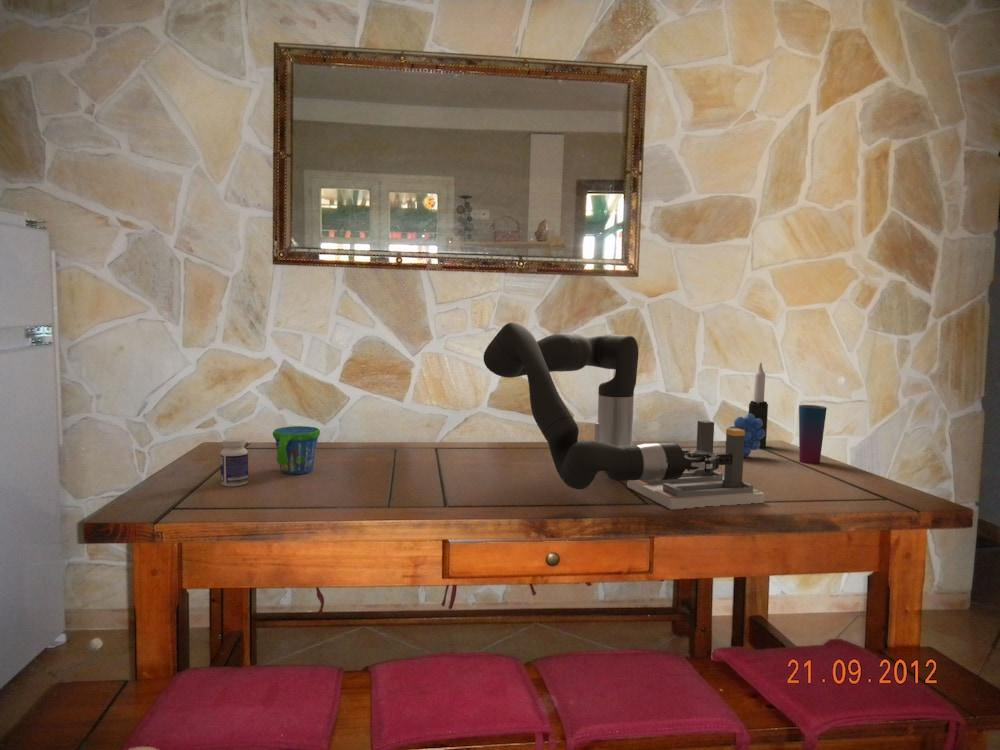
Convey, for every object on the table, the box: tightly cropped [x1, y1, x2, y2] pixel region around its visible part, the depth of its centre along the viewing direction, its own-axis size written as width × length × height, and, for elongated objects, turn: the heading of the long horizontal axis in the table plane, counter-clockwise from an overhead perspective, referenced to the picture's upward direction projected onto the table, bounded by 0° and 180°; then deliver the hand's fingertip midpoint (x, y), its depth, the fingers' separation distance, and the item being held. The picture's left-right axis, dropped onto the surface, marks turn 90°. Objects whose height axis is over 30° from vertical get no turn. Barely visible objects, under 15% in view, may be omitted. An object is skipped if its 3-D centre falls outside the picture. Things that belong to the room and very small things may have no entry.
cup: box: [798, 404, 828, 464], centre depth 194 cm, size 7×7×15 cm
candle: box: [748, 362, 769, 449], centre depth 215 cm, size 5×5×25 cm
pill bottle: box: [219, 437, 249, 487], centre depth 159 cm, size 6×6×10 cm
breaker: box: [723, 428, 745, 488], centre depth 153 cm, size 3×3×13 cm
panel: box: [626, 420, 765, 510], centre depth 157 cm, size 22×19×15 cm
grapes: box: [724, 413, 765, 458], centre depth 200 cm, size 12×7×12 cm, turn 102°
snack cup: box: [272, 425, 321, 475], centre depth 172 cm, size 16×10×10 cm
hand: (729, 458), depth 152 cm, fingers closed
